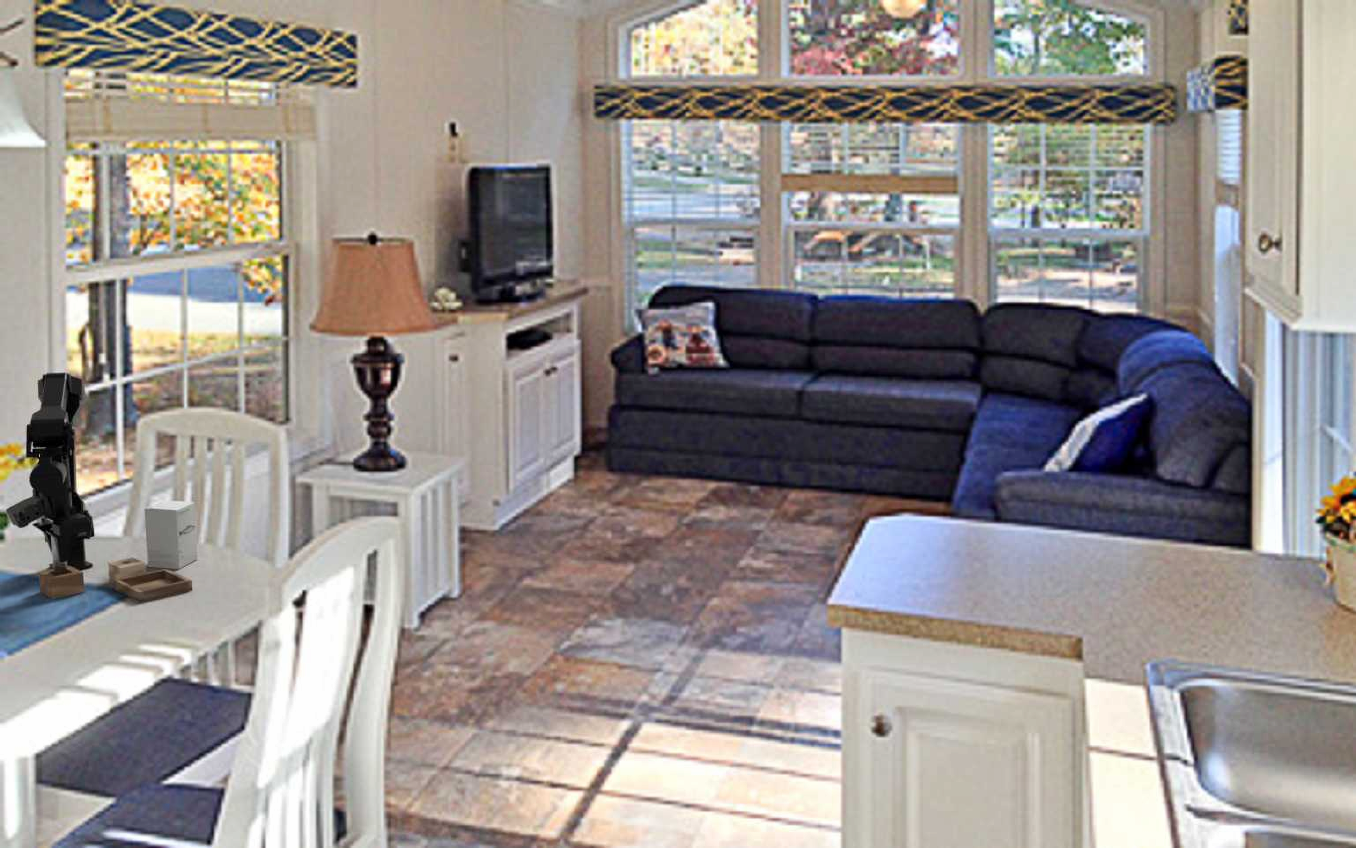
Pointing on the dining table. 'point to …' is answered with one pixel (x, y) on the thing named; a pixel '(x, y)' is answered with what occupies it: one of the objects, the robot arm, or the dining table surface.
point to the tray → (153, 585)
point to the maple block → (125, 568)
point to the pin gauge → (57, 559)
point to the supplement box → (171, 534)
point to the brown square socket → (61, 582)
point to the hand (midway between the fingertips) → (60, 560)
